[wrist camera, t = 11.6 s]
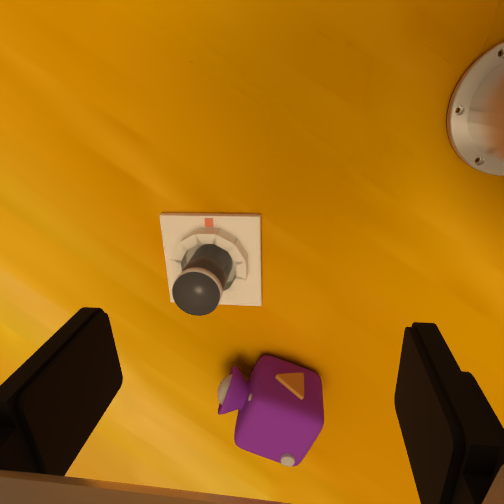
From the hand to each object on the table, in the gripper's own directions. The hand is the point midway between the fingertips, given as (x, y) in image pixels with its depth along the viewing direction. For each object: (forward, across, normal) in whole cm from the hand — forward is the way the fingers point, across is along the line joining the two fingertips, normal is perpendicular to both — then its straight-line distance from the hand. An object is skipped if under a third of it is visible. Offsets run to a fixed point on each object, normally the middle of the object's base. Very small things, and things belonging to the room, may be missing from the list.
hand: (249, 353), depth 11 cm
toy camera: (+32, +3, +31) cm, 44 cm away
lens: (+30, +10, +12) cm, 34 cm away
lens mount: (+31, +10, +12) cm, 35 cm away
